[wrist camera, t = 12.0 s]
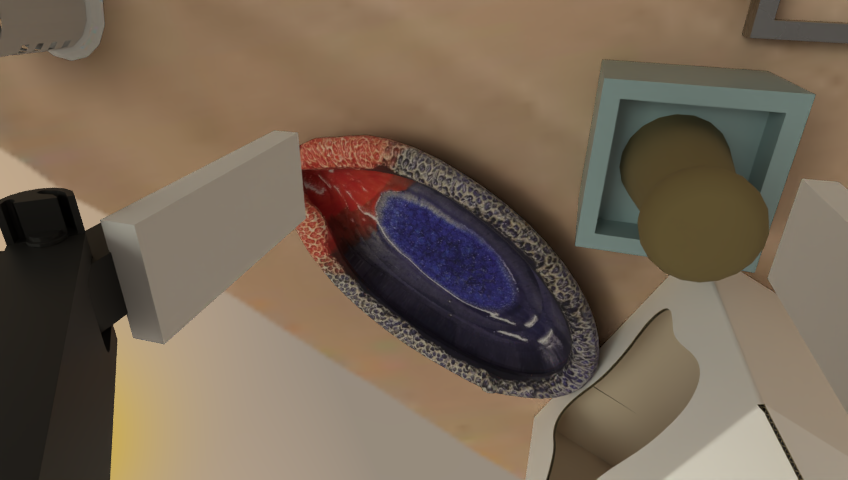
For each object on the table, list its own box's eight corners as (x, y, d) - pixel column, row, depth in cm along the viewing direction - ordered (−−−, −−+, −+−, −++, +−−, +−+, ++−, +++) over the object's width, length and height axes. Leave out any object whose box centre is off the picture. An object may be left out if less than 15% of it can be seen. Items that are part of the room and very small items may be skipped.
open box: (602, 59, 36) (604, 78, 29) (767, 70, 34) (815, 94, 27) (578, 198, 41) (575, 246, 33) (723, 217, 38) (754, 272, 31)
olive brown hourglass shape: (736, 110, 30) (803, 168, 20) (725, 212, 32) (781, 306, 23) (620, 117, 32) (632, 173, 22) (618, 213, 34) (627, 301, 25)
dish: (522, 406, 50) (515, 445, 46) (262, 195, 49) (230, 216, 44) (652, 306, 43) (659, 343, 38) (349, 53, 41) (321, 61, 37)
